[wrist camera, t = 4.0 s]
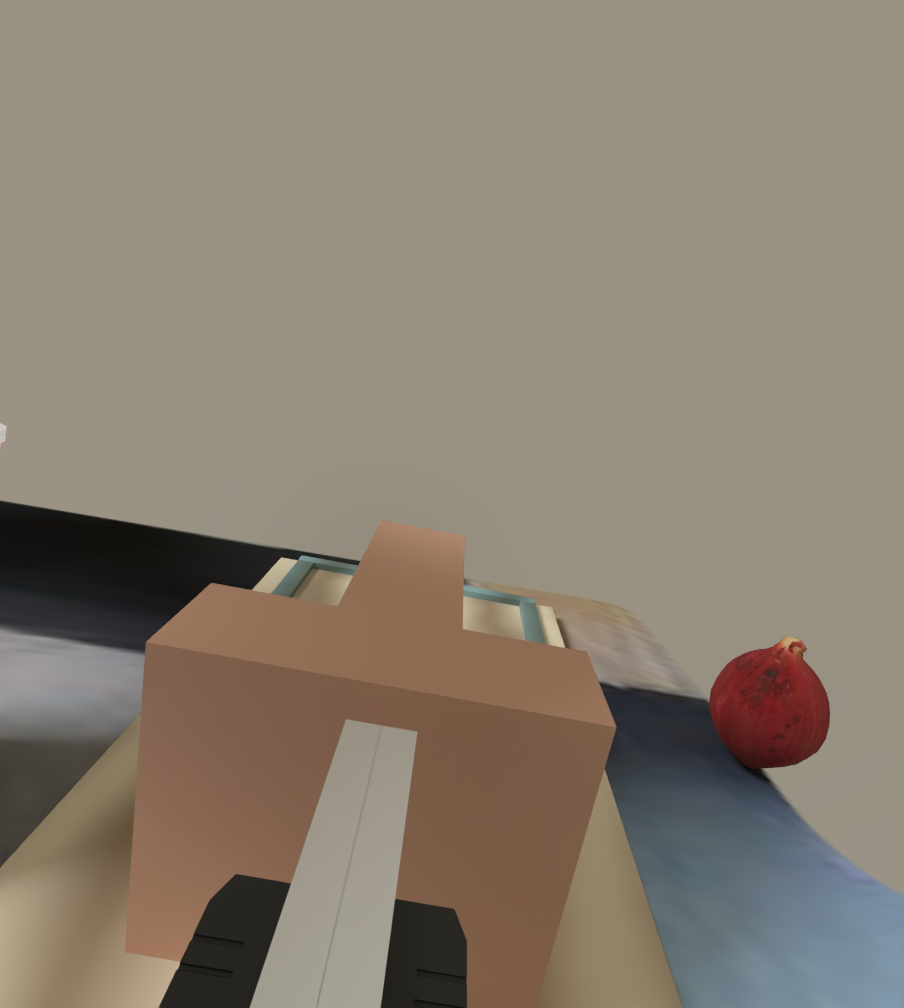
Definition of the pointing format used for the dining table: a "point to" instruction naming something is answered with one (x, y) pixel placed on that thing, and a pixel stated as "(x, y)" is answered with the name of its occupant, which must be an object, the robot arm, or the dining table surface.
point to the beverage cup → (2, 433)
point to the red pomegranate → (770, 706)
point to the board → (144, 980)
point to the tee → (382, 701)
